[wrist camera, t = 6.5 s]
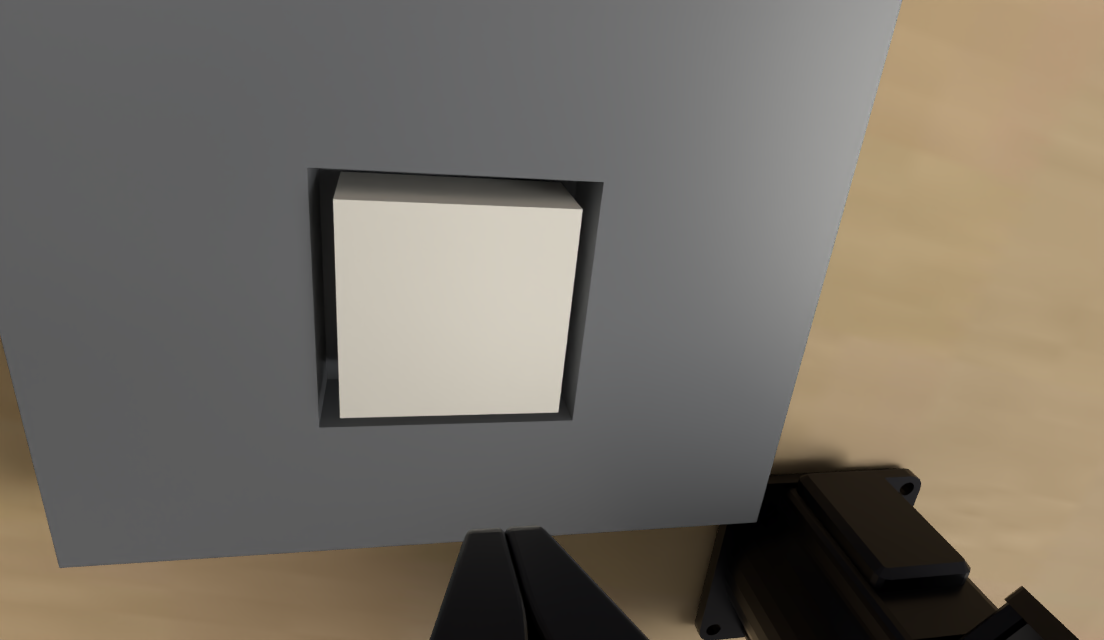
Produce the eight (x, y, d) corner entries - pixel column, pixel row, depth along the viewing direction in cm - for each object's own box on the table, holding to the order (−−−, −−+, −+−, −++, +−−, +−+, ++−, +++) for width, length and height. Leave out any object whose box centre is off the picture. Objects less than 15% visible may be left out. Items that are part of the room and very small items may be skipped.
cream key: (541, 367, 17) (558, 412, 15) (345, 369, 16) (339, 418, 14) (560, 182, 15) (582, 209, 13) (341, 171, 14) (332, 199, 12)
